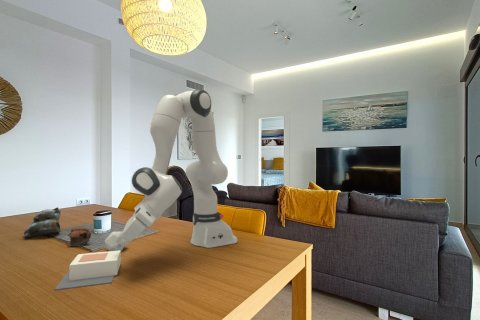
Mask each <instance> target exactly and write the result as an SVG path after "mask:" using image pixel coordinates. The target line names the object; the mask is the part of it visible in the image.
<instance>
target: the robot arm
mask: <svg viewBox="0 0 480 320" xmlns="http://www.w3.org/2000/svg"><path fill="white" fill-rule="evenodd" d="M211 109H212V98H211V96H210V94H209V93H208V91H206V90H204V89H200V88H199V89H194V90H186V91H184V92H181V93H178V94H165V95H163V96H162V97H161V99H160V101H158V104H157V106H156V108H155V110H154V113H153V115H152V119H151V123H150V127H149V128H150V129H149V132H150V135H151V138H152V141H153V143H154V148H155V156H154V158H153V159H154V160H153V162H152V163H153V164H152V167H151V168H150V167H145V166H144V167H141V168H138V169H137V170H136V171H135V172H133V175H132V177H131V184H132V187H133V188H134V189H135V191H138V192H139V193H141V194H142V195H144V198H143V199H142V200H141V201H140V202H139V203H138V204H137V205H136V206H134V212H133V215H132V216H131V217H130V218H129V219H128V220H127V222H126V223H125V225H124V228H123V230H122V231H121V232H122V233H121V234H120V235H119V236H118V237H117V239H116V241H115V242H116V243H117V244H120V243H121V242H122V241H123V240H126V241H127V242H128V243H130V242H132V241H133V240H134V239H136V238H137V237H138V236H139V235H140V234H141V233H142V232H143V231H145V230H146V229H147V228H150V227H151V226H152V225H153V224H154V223H156V221H157V220H158V219H159V218H160V217H161V216H162V215H163V213H164V212H165V211H166V209H168V208H170V207H171V206H172V205H173V204H174V203H175V201H176V200H177V199H178V198H179V197H180V196H181V194H182V193H183V187H182V185H181V183H180V182H179V181H178V180H177V178H176V177H175V176H174V175H170V174H169V175H168V170H169V167H170V162H171V158H172V153H173V148H174V145H175V142H176V138H177V136H178V132H179V130H180V129H179V128H180V126H181V122H182V119H183V118H189V119H190V120H191V138H192V149H193V151H194V152H195V153H196V155H197V158H198V160H195V161H192V162H190V163H188V165H186V169H185V175H186V177H187V179H188V181H189V182H190V185H191V190H192V193H193V213H192V225H193V229H192V234H191V238H190V240H189V241H190V244H192V245H193V246H196V247H203V248H206V249H207V248H208V249H211V248H217V247H223V246H228V245H233V244H237V243H238V241H239V240H238V237H237V236H235V235H234V234H233V229H232V227H231V226H230V225H228V223H226V222H225V221H224V220H222V219H224V216H225V215H224V214H223V213H220V212H219V211H218V195H217V193H216V192H215V190H214V189H213V185H214V186H215V185H219V184H223V183H224V182H225V181H226V180H227V179H228V176H229V172H228V166H226V164H225V163H223V160H222V159H221V157H220V154H219V151H218V147H217V137H216V126H215V125H216V124H215V119H214V114H213V112H212V111H211Z"/></svg>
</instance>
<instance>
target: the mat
mask: <svg viewBox="0 0 480 320" xmlns="http://www.w3.org/2000/svg"><path fill="white" fill-rule="evenodd" d="M114 278H115V275H112V276H104V277H96V278H88V279H79V280H71V281H69V270H68V271H67V273H66V274H64V276H63V277H62V278H61V280H60V282H59V283H58V284H57V285H56V286H55V288H54V291H59V290H60V291H61V290H67V289H74V288H83V287H91V286H99V285H100V286H101V285H106V284H112V283H113V280H114Z"/></svg>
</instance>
